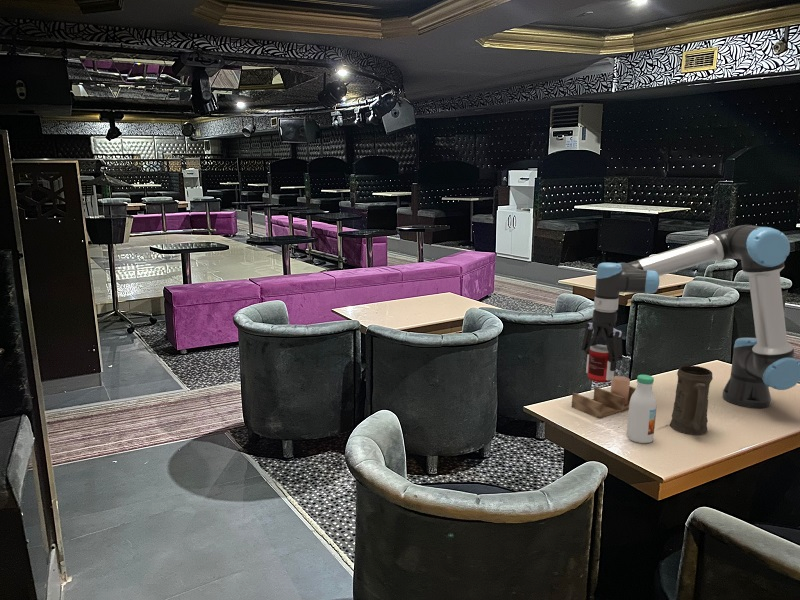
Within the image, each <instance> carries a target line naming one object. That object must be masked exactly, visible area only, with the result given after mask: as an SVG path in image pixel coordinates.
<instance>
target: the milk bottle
mask: <svg viewBox="0 0 800 600" xmlns="http://www.w3.org/2000/svg"><path fill="white" fill-rule="evenodd" d="M636 384H637V385H636V387H635V388H636V390H635V391H634V393H633V394H632V396H631V399H630V404H629V410H628V411H627V412H628V413H627V414H628V415H627V423H626V424H627V425H626V438H627V439H628V440H630V441H632V442H635V443H639V444H649V443H652V442H653V441H654V436H655V428H656V427H655V426H656V417H657V416H656V415H657V400H656V396H655V394H654V391H653V385H654V377H653V376H652V375H648V374H639V375H637V377H636Z"/></svg>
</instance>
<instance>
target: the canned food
mask: <svg viewBox="0 0 800 600" xmlns="http://www.w3.org/2000/svg"><path fill="white" fill-rule="evenodd" d="M609 360H610V358H609V354H608V350H607V345H606V344H596V345H593V346H590V351H589V363H588V373H587V378H588V380H589V381H592V382H595V383H603V384H604V383H605V384H606V383H609V382H610V381H611V380H606V374H607V363H608V361H609Z"/></svg>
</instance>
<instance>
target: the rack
mask: <svg viewBox="0 0 800 600" xmlns="http://www.w3.org/2000/svg"><path fill="white" fill-rule="evenodd" d="M593 390H594V391H593V398H589V397H587V396H584V395H581V394H579V393H577V392H572V397H571V408H573V409H575V410H578V411H579V412H582V413H585V414H587V415H589V416H592V417H594V418H596V419H599V420H600V419H604V418H607V417H612V416H614V415H615V416H616V415H618V414H621V413H624V412H629V404H630V399H631V396H632V394H633V393H634V391H635V390H636V387H633V386H629V397H628V405H627V406H624V402H625V398H624V397H622V396H619V395H616V394H614V393H611V391H608V390H605V389H602V388H600V387H597V386H595V387H594V389H593Z"/></svg>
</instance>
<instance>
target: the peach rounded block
mask: <svg viewBox="0 0 800 600" xmlns="http://www.w3.org/2000/svg"><path fill="white" fill-rule="evenodd" d="M610 381H611V383H610V392H611V393H614V394H616V395H619V396H622V397H624V398H625V402H624V406H627V405H628V397H629V386H630V384H631V379H630V378H629V377H627V376H624V375H623V376H622V375H614V377H613V379H612V380H610Z"/></svg>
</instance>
